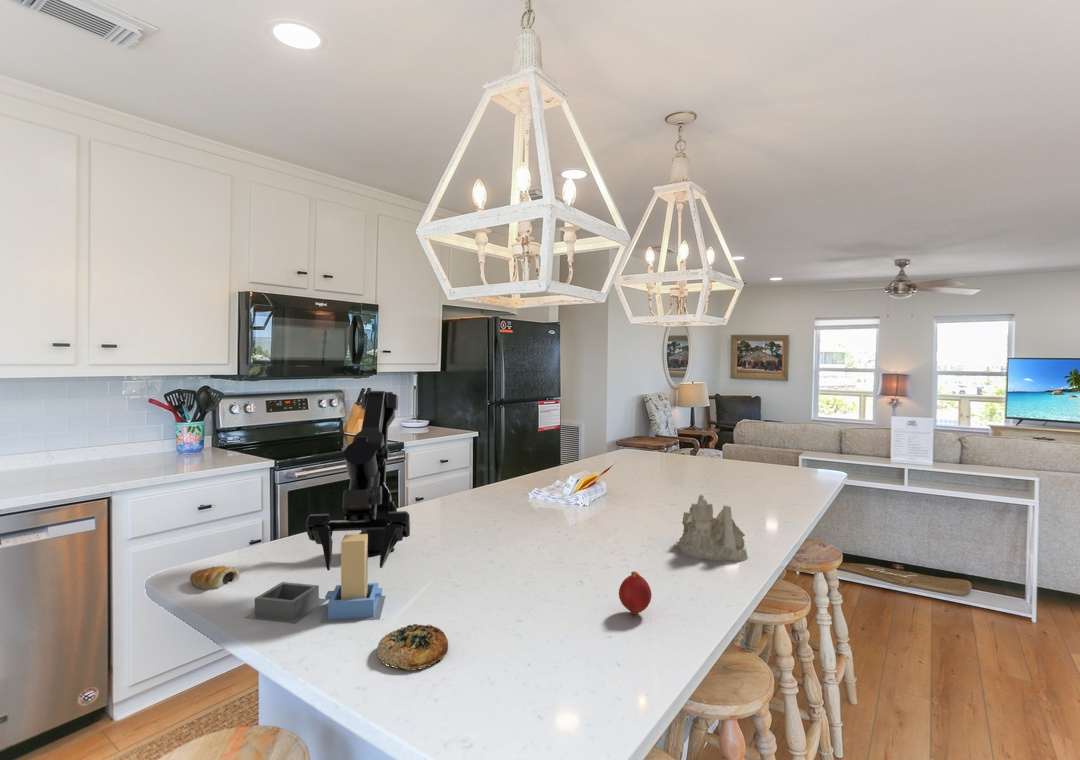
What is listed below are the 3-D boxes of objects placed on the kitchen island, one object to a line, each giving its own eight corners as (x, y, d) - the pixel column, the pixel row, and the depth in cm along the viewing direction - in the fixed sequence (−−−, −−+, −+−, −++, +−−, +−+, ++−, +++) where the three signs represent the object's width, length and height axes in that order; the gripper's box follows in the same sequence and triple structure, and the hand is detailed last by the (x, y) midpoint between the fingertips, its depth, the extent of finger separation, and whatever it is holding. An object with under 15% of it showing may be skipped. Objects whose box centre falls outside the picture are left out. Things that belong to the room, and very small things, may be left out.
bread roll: (453, 635, 94) (451, 607, 93) (443, 681, 83) (441, 651, 82) (386, 637, 93) (383, 610, 93) (367, 684, 83) (364, 654, 82)
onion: (629, 604, 107) (629, 562, 106) (656, 613, 103) (657, 570, 103) (612, 614, 102) (613, 571, 102) (640, 624, 98) (641, 579, 98)
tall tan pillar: (345, 604, 103) (345, 534, 103) (367, 603, 104) (367, 533, 104) (341, 614, 100) (341, 541, 99) (364, 612, 100) (364, 540, 100)
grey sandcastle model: (749, 563, 129) (747, 497, 129) (675, 558, 134) (674, 494, 134) (746, 547, 143) (745, 488, 144) (680, 542, 148) (679, 485, 149)
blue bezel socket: (330, 601, 106) (331, 582, 106) (385, 598, 108) (385, 580, 108) (319, 626, 96) (319, 605, 96) (379, 622, 98) (379, 602, 98)
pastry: (179, 587, 112) (179, 568, 112) (208, 575, 119) (208, 557, 119) (216, 594, 109) (216, 574, 109) (244, 581, 116) (244, 563, 116)
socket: (280, 597, 108) (280, 579, 107) (328, 602, 106) (328, 583, 106) (243, 621, 98) (243, 600, 98) (295, 626, 96) (295, 606, 96)
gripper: (307, 472, 105) (291, 550, 95) (409, 469, 108) (405, 545, 98) (316, 502, 113) (303, 578, 103) (411, 500, 116) (408, 573, 106)
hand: (354, 568), depth 102 cm, fingers open, 9 cm apart
